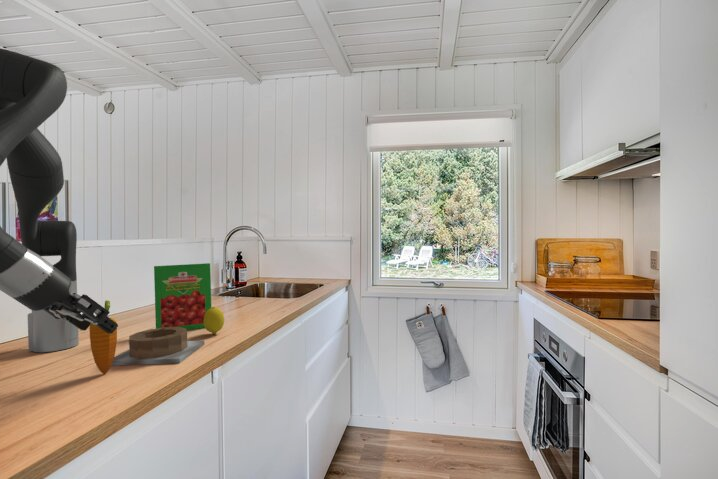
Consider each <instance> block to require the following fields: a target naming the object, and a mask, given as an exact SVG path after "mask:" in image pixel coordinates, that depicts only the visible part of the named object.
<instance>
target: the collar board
mask: <svg viewBox="0 0 718 479" xmlns="http://www.w3.org/2000/svg"><path fill="white" fill-rule="evenodd" d="M128 342H129V345H128V346H129V348H128V349H127V350H125V351H123V352H122V353H121V352H120V353H119V354H117V355H115V356H114V359H113V362H112V365H111V367H113V366H114V367H115V366H134V365H135V366H136V365H137V366H138V365H140V366H141V365H158V364H159V365H163V364H166V365H167V364H180V363H182V362H183V361H185V360H186V359H187V358H188V357H190V356H191V355H192V354H194V353H195V352H197V351H198V350H200V348H203V346H204V345H205V340H188V330H186V328H180V327H164V328H157V329H156V328H151V329H146V330H142V331H139V332H135V333H133V334H131V335H129V337H128Z"/></svg>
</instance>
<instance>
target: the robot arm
mask: <svg viewBox="0 0 718 479" xmlns="http://www.w3.org/2000/svg"><path fill="white" fill-rule="evenodd" d="M67 90H68V81H67V78H66V74H65V73H64V71H63V70H62V69H61V68H60V67H59V66H57V65H55V64H53V63H51V62H48V61H45V60H42V59H39V58H36V57H33V56H29V55H26V54H23V53H18V52H16V51H12V50H9V49H5V48H0V167H2V165H3V163H4V162H5V161H6V164H7V168H8V173H9V178H10V181H11V185H12V186H11V187H12V189H13V193H14V198H15V202H16V206H17V214H18V225H19V234H20V241H21V242H20V241H19V240H18V239H16V238H15V237H13V235H11V234H9V233H7V232H6V231H5V230H4V229H3V227H2V226H1V225H0V291H1V292H3V293H4V294H5V295H8V296H9V297H10V298H12V299H13V300H15V301H17V302H18V303H19V304H21V305H23V306H24V307H26V308H28V309H29V310H31V312H29V313H28V314H27V337H28V338H27V340H28V341H27V342H28V343H27V344H28V345H27V346H28V352H34V353H51V352H57V351H62V350H67V349H70V348H73V347H76V346H77V345H79V343H80V342H79V341H80V340H79V339H80V338H79V330H80V331H86V330H87V329H88V328H90V323H92V324H94V325H96V326H98V327H99V328H101V329H102V330H104V331H105V332H106V333H109V334H112V333H113V332H114V331H115V330H116V328H117V329H118V327H119V325H118V323H116V322H117V321H116V322H114V321H113V320H112V319H110V318H111V317H109V314H110V313H111V312H110V310H109V311H108V310H106V309H105V306H102V305H101V304H99V303H98V302H97V301H95V300H94V299H93V298H91V297H89V295H87V294H84V293H83V294H81V295H80V294H78V282H77V280H78V278H77V240H78V239H77V237H78V236H77V234H78V233H77V227H76V225H75V223H74V222H73V221H70V220H38V219H39V216H40V215H41V213H42V212H43V210H44V209H45V208H46V207H47V206H48V205H49V204H50V203H51V202H52V201H53V200H54V199H55V198H56V197H57V196H58V195H59V193H61V191H62V189H63V188H64V183H65V178H64V177H65V176H64V168H63V161H62V158H61V156H60V153H59V152H58V151H57V149H56V148H55V147H54V146H53V144H52V143H51V142H50V141H49V139H47V137H45V135H44V133H42V132H41V131H40V130H39V127H40V126H41V125H42V124H43V123H45V121H47V120H48V119H49V118H50V117H51V116H53V114H55V113H56V112H57V111H58V109H59V108H61V106H62V104H63V103H64V101H65V99H66V95H67V92H68V91H67ZM58 256H59V257H60V259H59V261H58V262H55V263H54V264H51V263H50V262H49V261H48V260H46V259H45V258H44V257H58ZM94 312H96V313H98V314H97V315H96V314H95V313H94ZM81 313H82V314H81ZM94 314H95V315H94ZM107 315H108V316H107Z"/></svg>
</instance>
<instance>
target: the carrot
mask: <svg viewBox="0 0 718 479" xmlns="http://www.w3.org/2000/svg"><path fill="white" fill-rule="evenodd" d="M104 308H105V309H106V310H108V311H109V312H110V308H111V301H110V300H108V299H107V300H105V301H104ZM94 314H95V316H96V315H97V314H98V313H96V312H94ZM107 317H109V314H108V315H107ZM109 318H110V319H112V320H113V321H114V322H116V323H117V320H116V319H115V318H112V317H109ZM117 324H118V323H117ZM88 328H89V330H88V331H89V342H90V350H91V353H92V357H93V361H94V363H95V364H96V367H97V369H98V370H99V371H100V373H101V374H102V375H106V374H107V373H108V372H109V371H110V368H111V367H112V366H111V365H112V362H113V359H114V357H115V356H116V351H117V343H118V327H117V328H116V330H115V331H114V332H113V333H112V334H109V333H106V332H105V331H104V330H102V329H101V328H99V327H98V326H96V325H94V324H92V323H90V326H89V327H88Z"/></svg>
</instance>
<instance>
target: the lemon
mask: <svg viewBox="0 0 718 479" xmlns="http://www.w3.org/2000/svg"><path fill="white" fill-rule="evenodd" d="M224 324H225V315H224V313H223V311H222V309H220V308H218V307H216V306H211V309H209V310H208V311H207V312H206V313H205V316H204V327H205V328H204V329H205V330H206V331H207V332H209V333H211V334H213V335H216V334H217V333H218V332H219V331H221V330H222V329H223V326H224Z"/></svg>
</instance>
